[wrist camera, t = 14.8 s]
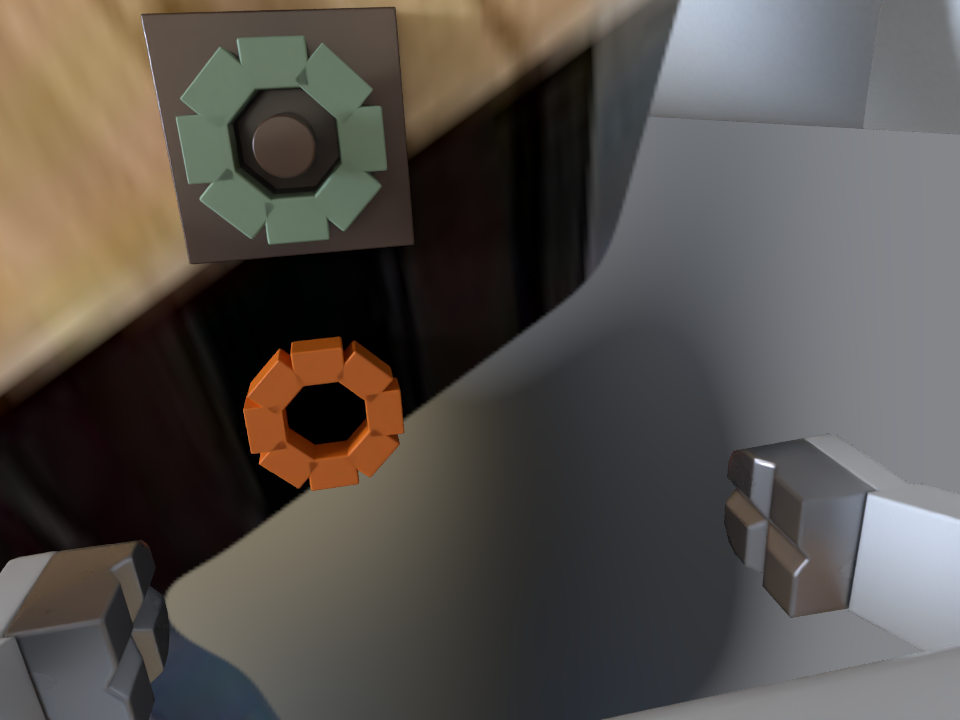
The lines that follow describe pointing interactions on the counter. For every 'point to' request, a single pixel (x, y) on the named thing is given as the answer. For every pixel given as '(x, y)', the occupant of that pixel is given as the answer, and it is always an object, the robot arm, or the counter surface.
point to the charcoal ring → (257, 176)
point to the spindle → (285, 122)
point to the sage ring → (215, 151)
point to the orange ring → (329, 460)
